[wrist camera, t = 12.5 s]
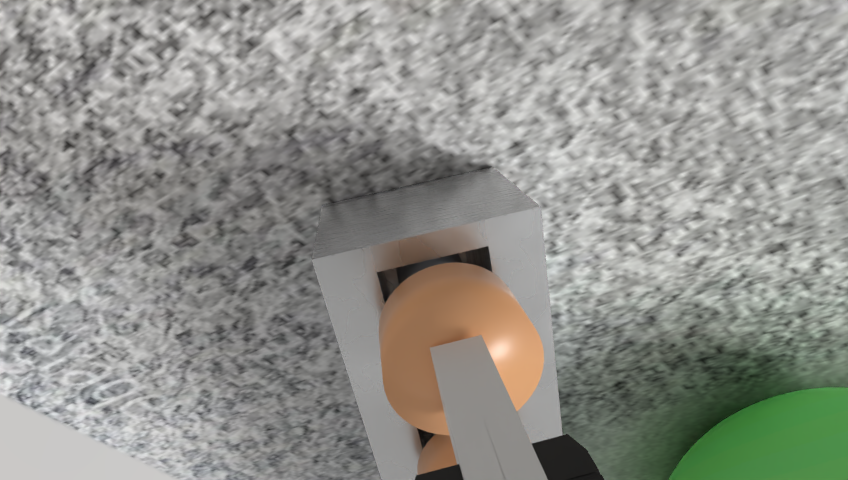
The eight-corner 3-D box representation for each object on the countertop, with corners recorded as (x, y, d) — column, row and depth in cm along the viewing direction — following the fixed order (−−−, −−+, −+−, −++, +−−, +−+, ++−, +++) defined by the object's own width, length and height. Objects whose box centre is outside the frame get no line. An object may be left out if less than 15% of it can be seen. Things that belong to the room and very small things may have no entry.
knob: (360, 219, 20) (365, 322, 13) (467, 194, 21) (536, 281, 13) (384, 312, 22) (401, 451, 15) (482, 288, 22) (550, 413, 15)
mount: (322, 205, 21) (311, 260, 16) (493, 166, 22) (540, 206, 16) (410, 505, 29) (423, 611, 24) (534, 472, 30) (575, 569, 24)
